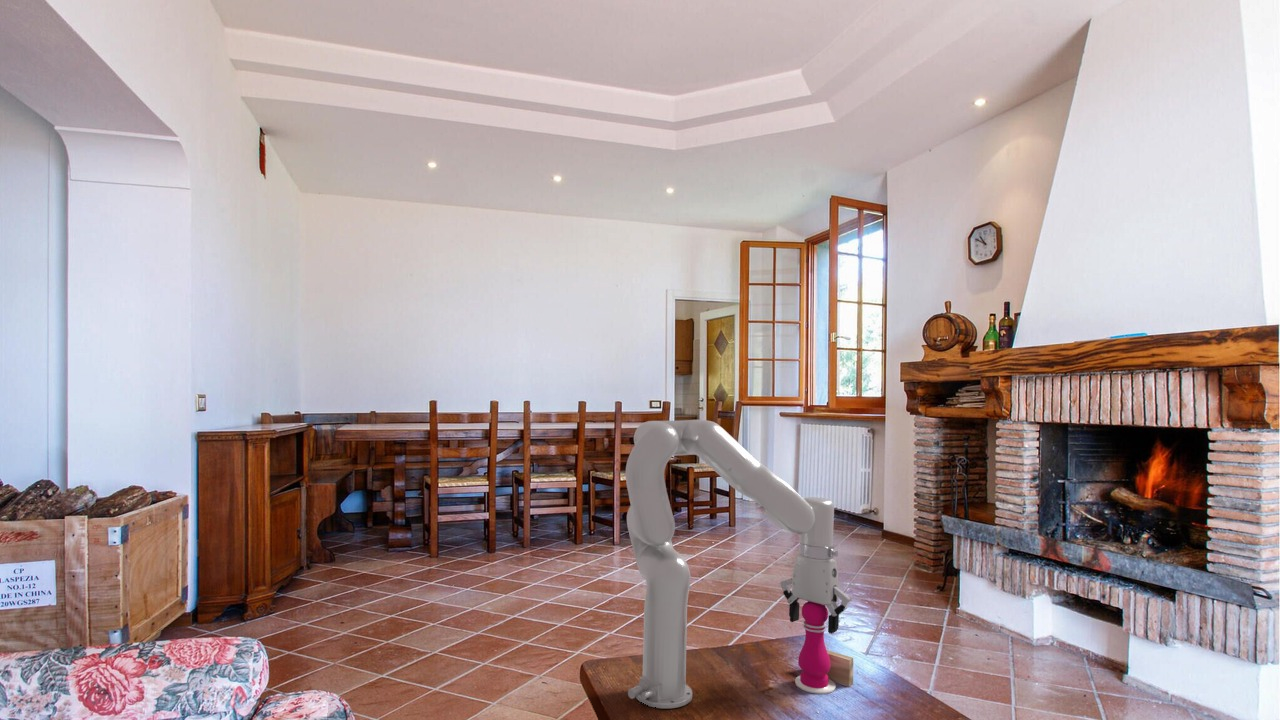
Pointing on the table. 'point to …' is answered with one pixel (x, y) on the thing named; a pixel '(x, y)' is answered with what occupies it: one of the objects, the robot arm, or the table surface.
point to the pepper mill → (814, 647)
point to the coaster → (825, 690)
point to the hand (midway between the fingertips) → (813, 626)
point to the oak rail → (840, 669)
